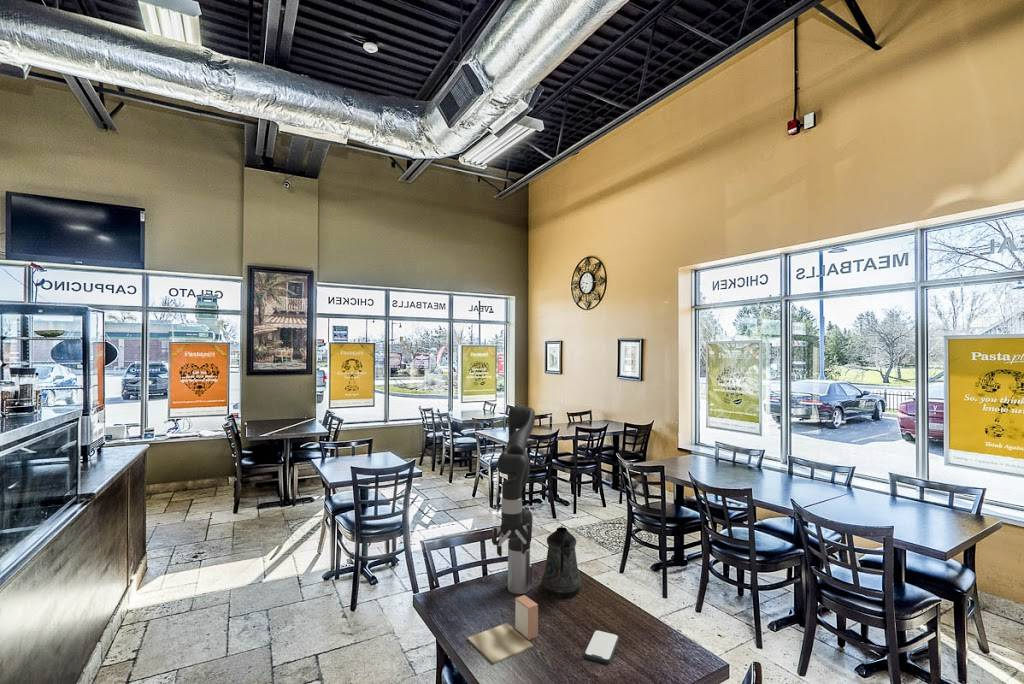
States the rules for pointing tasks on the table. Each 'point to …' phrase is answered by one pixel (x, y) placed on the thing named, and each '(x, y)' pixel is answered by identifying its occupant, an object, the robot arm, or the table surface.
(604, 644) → the phone case
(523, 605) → the salmon pink block
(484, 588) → the table surface
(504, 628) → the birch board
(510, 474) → the robot arm
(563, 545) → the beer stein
